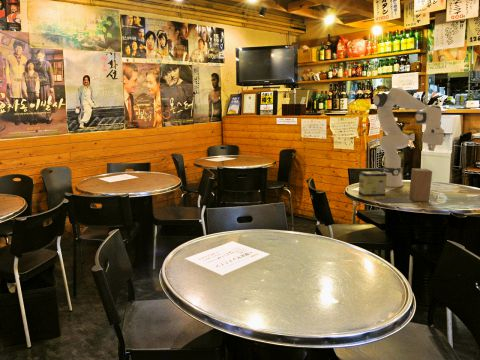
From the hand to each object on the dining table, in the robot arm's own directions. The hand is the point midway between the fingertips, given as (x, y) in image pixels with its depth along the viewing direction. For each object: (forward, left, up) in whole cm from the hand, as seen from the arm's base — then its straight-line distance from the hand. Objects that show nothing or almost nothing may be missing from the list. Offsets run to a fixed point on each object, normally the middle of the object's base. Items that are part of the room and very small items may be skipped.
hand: (431, 150), depth 285 cm
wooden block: (+11, -12, -31) cm, 35 cm away
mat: (+11, -29, -31) cm, 44 cm away
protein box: (-8, -36, -31) cm, 48 cm away
